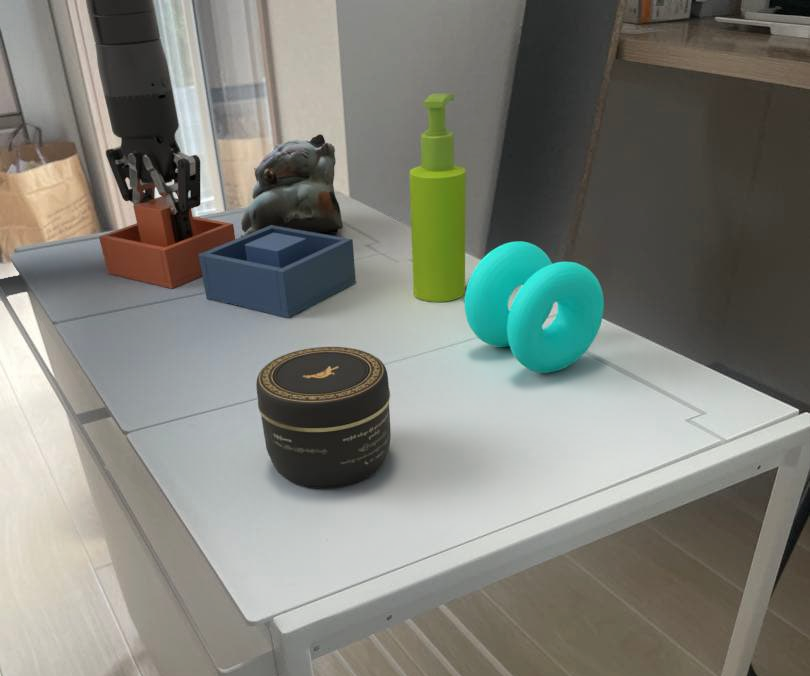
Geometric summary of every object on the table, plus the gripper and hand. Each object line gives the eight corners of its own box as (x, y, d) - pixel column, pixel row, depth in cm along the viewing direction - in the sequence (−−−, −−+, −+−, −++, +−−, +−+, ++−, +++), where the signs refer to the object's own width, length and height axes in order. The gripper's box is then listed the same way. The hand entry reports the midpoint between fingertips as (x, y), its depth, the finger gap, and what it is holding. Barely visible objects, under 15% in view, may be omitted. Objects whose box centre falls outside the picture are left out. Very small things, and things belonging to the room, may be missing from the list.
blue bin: (206, 298, 97) (198, 254, 94) (276, 266, 105) (271, 224, 102) (288, 318, 91) (282, 271, 88) (356, 282, 99) (352, 238, 96)
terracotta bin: (107, 273, 105) (98, 236, 103) (175, 247, 113) (168, 211, 110) (172, 288, 100) (164, 250, 97) (239, 260, 108) (233, 223, 105)
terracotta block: (141, 245, 104) (132, 205, 101) (170, 235, 107) (162, 195, 104) (168, 251, 102) (160, 210, 99) (197, 240, 105) (189, 200, 102)
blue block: (250, 287, 97) (244, 244, 94) (278, 274, 100) (273, 232, 97) (283, 295, 95) (278, 250, 92) (311, 281, 98) (306, 238, 95)
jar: (416, 445, 68) (413, 358, 64) (348, 507, 61) (339, 414, 57) (316, 419, 72) (306, 335, 68) (242, 474, 66) (225, 385, 61)
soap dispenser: (471, 281, 98) (473, 90, 86) (458, 303, 93) (458, 102, 81) (423, 279, 99) (418, 89, 87) (407, 300, 94) (400, 101, 82)
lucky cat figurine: (222, 243, 113) (216, 134, 111) (286, 256, 123) (281, 156, 121) (302, 223, 104) (296, 105, 102) (364, 239, 113) (360, 131, 112)
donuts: (540, 328, 86) (546, 229, 80) (604, 362, 79) (616, 256, 73) (458, 351, 83) (458, 248, 77) (517, 389, 76) (522, 280, 70)
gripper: (69, 89, 95) (107, 241, 105) (156, 96, 89) (188, 258, 99) (120, 79, 100) (152, 225, 110) (206, 85, 93) (232, 240, 104)
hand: (168, 240), depth 104 cm, fingers closed on terracotta block, 4 cm apart
